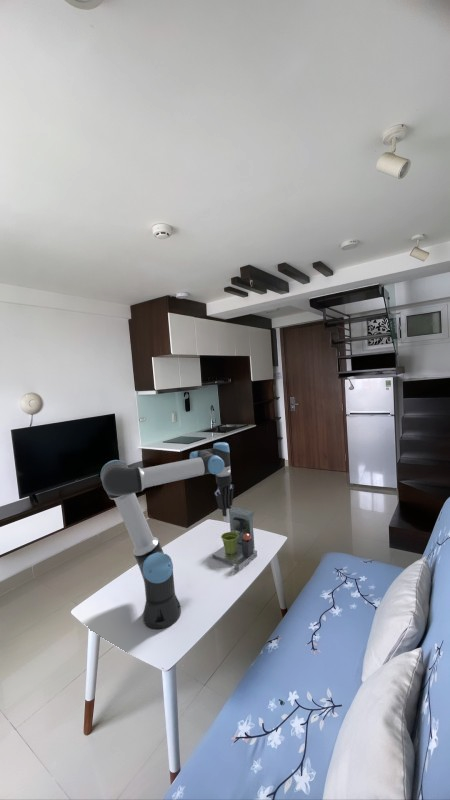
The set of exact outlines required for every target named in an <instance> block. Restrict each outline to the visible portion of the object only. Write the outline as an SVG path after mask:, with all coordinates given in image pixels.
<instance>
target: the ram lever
mask: <svg viewBox="0 0 450 800" xmlns="http://www.w3.org/2000/svg"><path fill="white" fill-rule="evenodd" d="M242 553H243V556H246V557H250V556H251V555H253V541H252V539H251V536H250V534H248V533H245V534H244V535H243V540H242Z"/></svg>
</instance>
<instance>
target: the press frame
mask: <svg viewBox="0 0 450 800" xmlns="http://www.w3.org/2000/svg"><path fill="white" fill-rule="evenodd" d="M229 509H230V508H229ZM254 516H255V514H254V511H252V510H249V509H244V508H240V507H235V506H233V507H231V509H230V514H229V517H230V522H229V528H230V531H229V532H235V533H237V534H238V535H239V536H238V540H237V551H236V553H234V554H227V553H226V552H225V548H224V545H223V546H222V547H220V548H219V549H217V550H216V551H214V553H212V554H211V557H212V559H214V560H217V561H219V562H222V563H223V564H224V563H225V564H227V565H230V566H231V567H232V566H233V568H234V569H233V570H234V571H237V572H240V571H241V570H243V569H244V568H245V567H246V566H247V565H249V564H251V563H252V561H254V560H255V559H256V558H258V550H256V549H255V535H254V534H255V533H254V522H253V517H254ZM245 533H248V534H250V536H251V539H252V541H253V555H251V556H250V557H246V556H243V553H242V540H243V535H244V534H245Z"/></svg>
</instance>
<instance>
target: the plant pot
mask: <svg viewBox="0 0 450 800" xmlns="http://www.w3.org/2000/svg"><path fill="white" fill-rule="evenodd" d="M238 536H239V535H238V534H237V533H235V532H231V531H227V532H224V533H222V534H221V535H220V538H221V540H222V543H223V546H224V548H225V552H226V553H227V554H234V553H236V551H237V540H238Z"/></svg>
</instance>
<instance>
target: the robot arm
mask: <svg viewBox="0 0 450 800" xmlns="http://www.w3.org/2000/svg"><path fill="white" fill-rule="evenodd" d="M230 458H231V457H230V446H229V442H228V443H227V442H225V441H223V442H221V441H220V442H219V441H218V442H216V443H213V447H212V448H208V449H202V450H201V449H200V450H195V451H191V452H190V453H189V459H184V460H178V461H175V462H169V463H164V464H159V465H155V466H148V467H143V468H141V467H139V466H137V467H129V465H127V463H125V462H124V461H122V460H120V459H119V460H118V459H113V460H110V461H107V463H105V464H104V465H103V466H102V468H101V471H100V475H99V476H100V477H99V478H100V481H101V482H102V483H101V484H102V486H103V489H104V491H105V492H106V494H107V495H108V497H109V499H110V500H114V502H115V503H114V504H115V505H116V508H117V509H118V512H119V514H120V516H121V518H122V521H123V523H124V526H125V528H126V530H127V532H128V534H129V537H130V539H131V542H132V544H133V546H134V548H133V550H132V553H133V556H134V559H135V560H136V564H137V565H138V569H139V570H140V574H141V576H142V579H143V583H144V592H145V603H144V609H143V613H142V618H143V624H144V625H145V626H146V627H147V628H149V629H152V630H162V629H166V628H169V627H171V626H172V625H174V624H175V623H176V622H177V621H178V620H179V618H180V617H181V614H182V613H181V612H182V611H181V610H182V609H181V607H182V606H181V603H180V601H179V599H178V597H177V594H176V592H175V579H174V564H173V560H172V558H171V556H169V554H167V553H165V552H164V550H163V548H162V546H161V543H160V541H159V538H158V537H155V536H153V533H152V531H151V528H150V526H149V524H148V521H147V519H146V517H145V515H144V512H143V509H142V506H141V505H140V502H139V500H138V498H137V495H136V493H140V492H143V490H145V489H146V488H150V487H151V488H152V487H153V486H154V487H156V486H159V485H164V484H167V483H172V482H177V481H181V480H182V481H183V480H186V479H190V478H194V477H198V476H199V477H200V476H204V475H207V474H208V475H209V474H212V475H215V482H216V485H217V487H216V491H213V494H214V497H215V499H216V503H217V506H218V510H221V513H222V517H223V518H222V519H223V523H227V524H230V517H229V514H230V509H231V508H232V506H233V503H234V502H233V501H234V499H233V498H234V490H235V485H234V484H231V483H232V474H231V459H230Z"/></svg>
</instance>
